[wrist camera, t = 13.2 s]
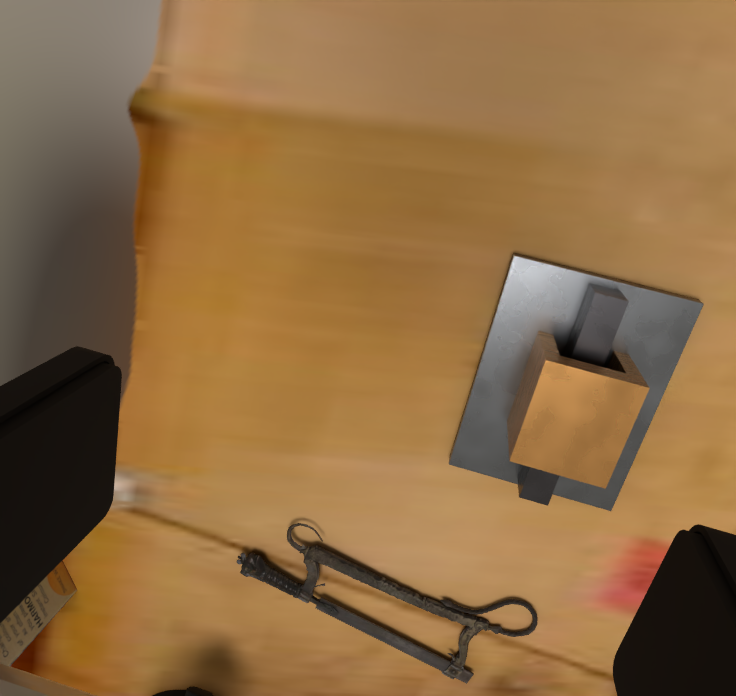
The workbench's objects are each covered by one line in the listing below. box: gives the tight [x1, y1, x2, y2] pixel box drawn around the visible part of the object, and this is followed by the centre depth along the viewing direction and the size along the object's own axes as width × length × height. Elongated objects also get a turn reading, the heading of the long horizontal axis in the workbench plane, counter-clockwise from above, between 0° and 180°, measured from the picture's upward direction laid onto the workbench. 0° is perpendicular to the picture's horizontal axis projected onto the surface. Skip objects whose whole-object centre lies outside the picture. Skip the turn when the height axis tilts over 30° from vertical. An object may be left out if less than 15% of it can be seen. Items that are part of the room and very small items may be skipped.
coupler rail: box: [449, 253, 704, 511], centre depth 41 cm, size 16×12×4 cm
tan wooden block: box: [507, 331, 650, 489], centre depth 39 cm, size 7×6×6 cm
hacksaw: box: [237, 523, 537, 684], centre depth 50 cm, size 24×10×1 cm, turn 65°
